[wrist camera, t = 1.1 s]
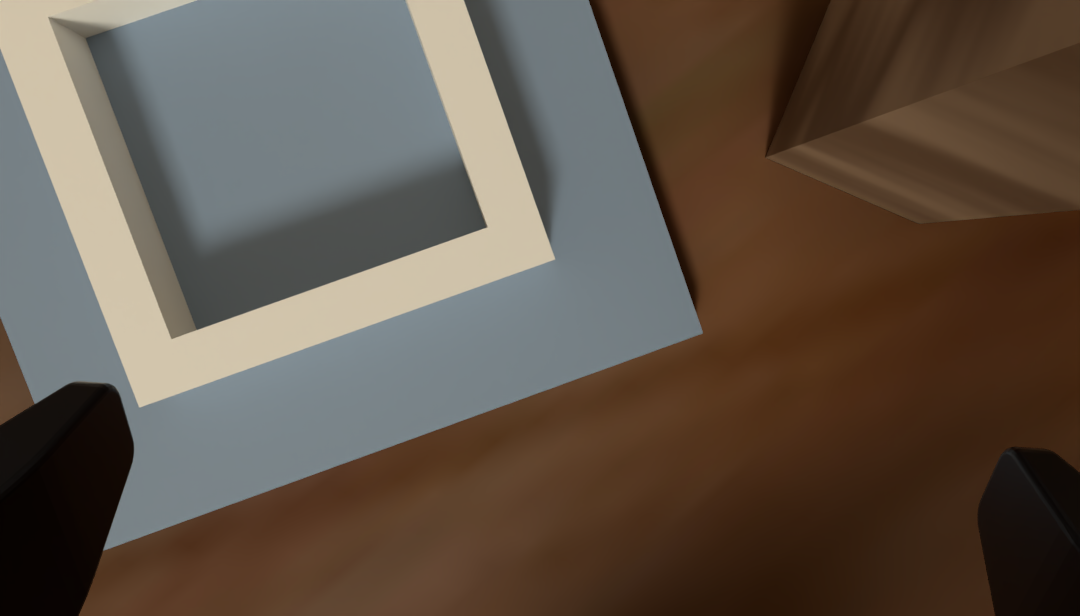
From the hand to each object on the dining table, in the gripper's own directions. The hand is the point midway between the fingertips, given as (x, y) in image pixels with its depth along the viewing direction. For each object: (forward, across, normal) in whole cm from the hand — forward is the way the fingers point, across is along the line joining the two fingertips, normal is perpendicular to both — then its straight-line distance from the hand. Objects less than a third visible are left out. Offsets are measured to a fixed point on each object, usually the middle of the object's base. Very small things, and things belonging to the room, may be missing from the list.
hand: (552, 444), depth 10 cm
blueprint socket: (+15, +7, +4) cm, 17 cm away
